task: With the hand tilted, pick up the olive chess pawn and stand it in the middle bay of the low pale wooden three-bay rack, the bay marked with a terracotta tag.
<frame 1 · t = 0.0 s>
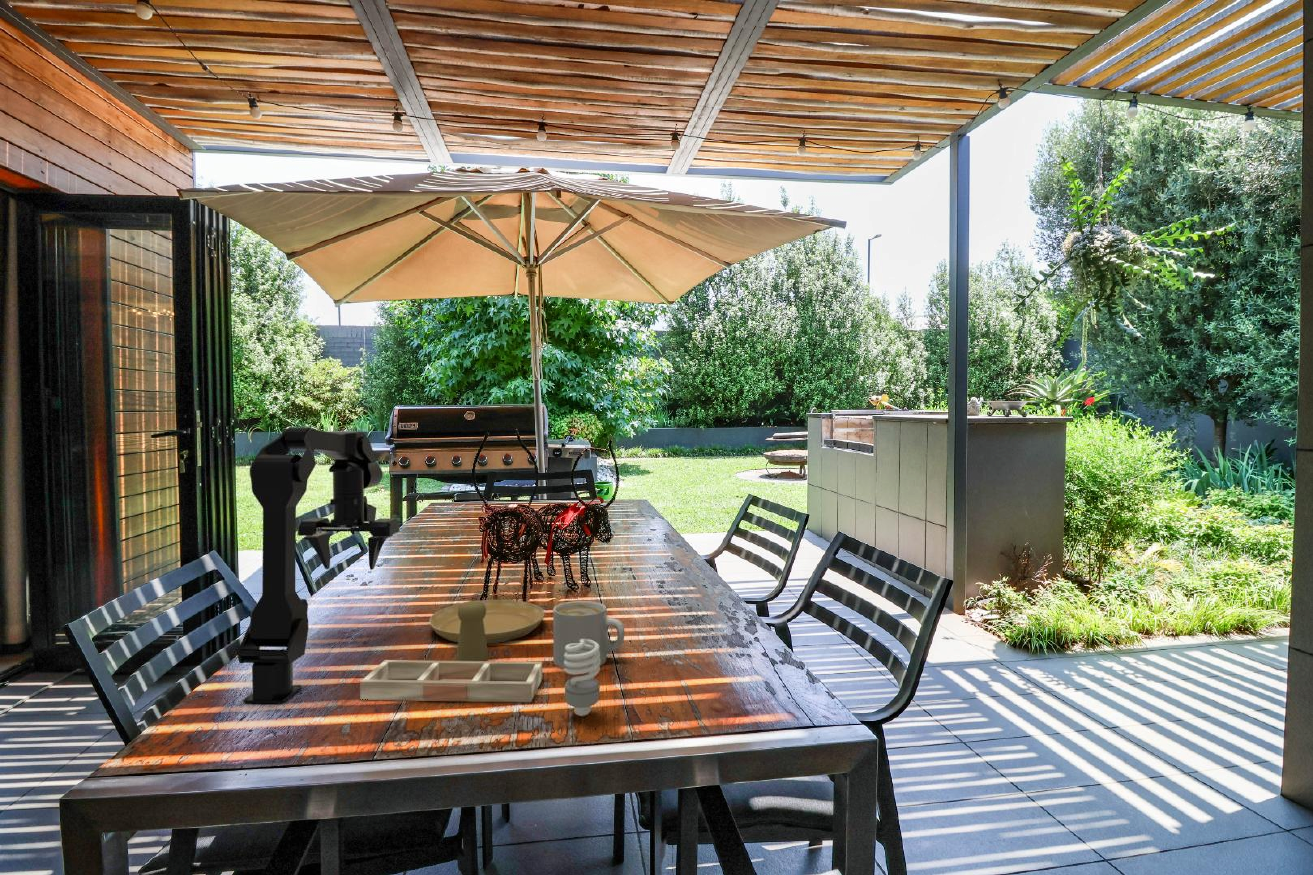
hand: (349, 568, 146), 15 cm above the table, tool pointing down, fingers open, 9 cm apart
light bulb: (582, 717, 111), on the table
rack: (454, 688, 122), on the table
plant saucer: (488, 630, 155), on the table
olive chess pawn: (472, 660, 136), on the table
coffee mug: (588, 662, 135), on the table
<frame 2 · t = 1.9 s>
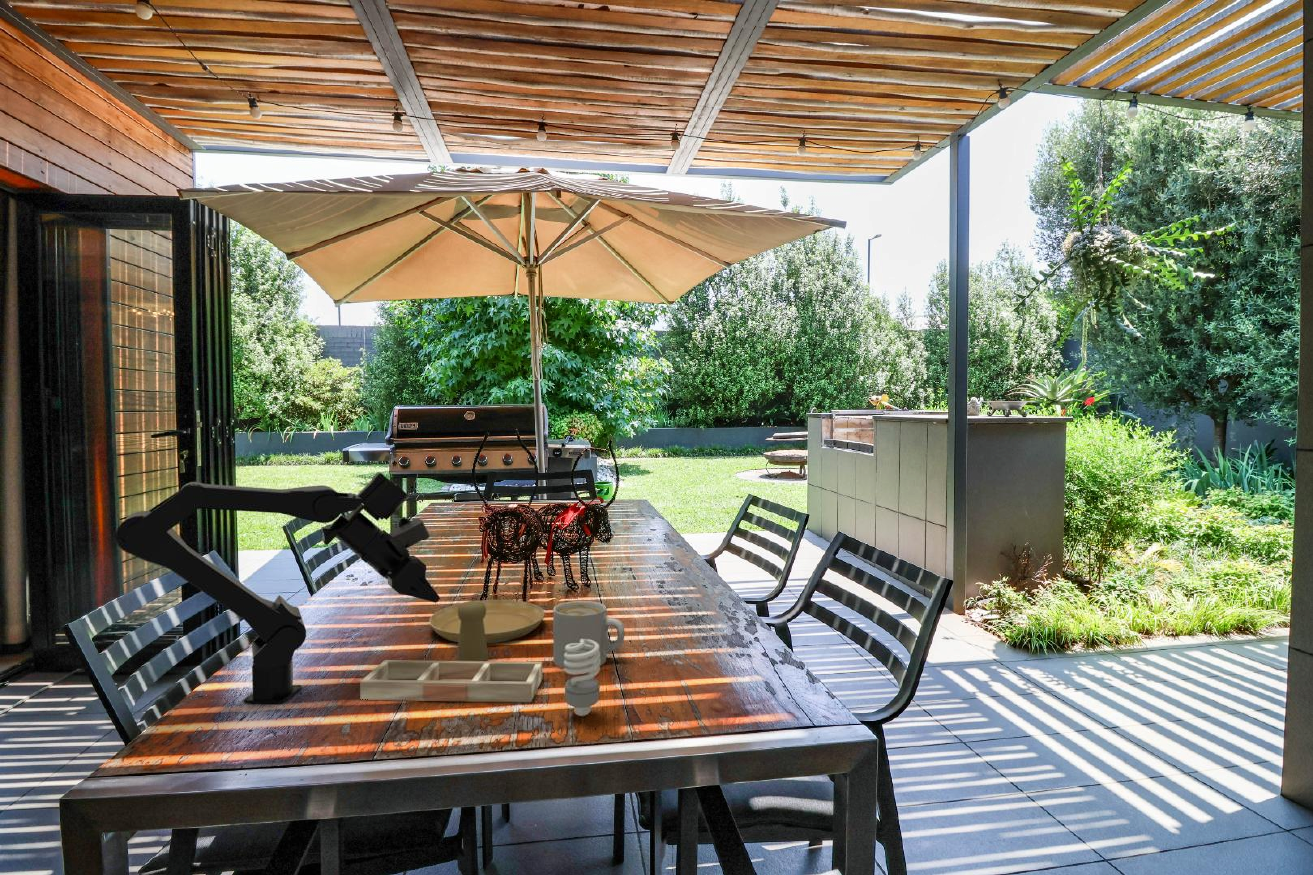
hand: (431, 594, 131), 13 cm above the table, tool tilted 45°, fingers open, 9 cm apart
nothing on the table moved.
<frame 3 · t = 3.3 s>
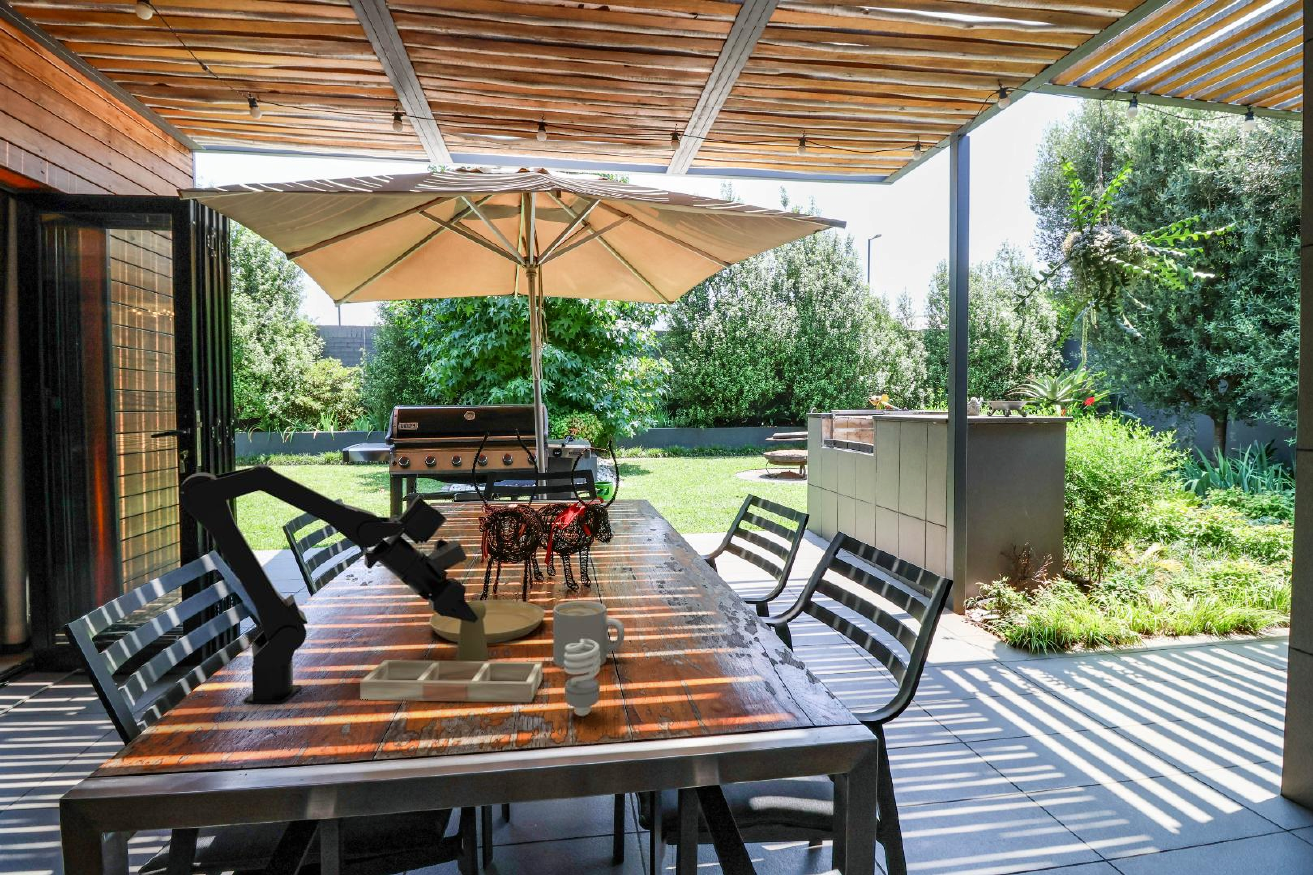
hand: (468, 614, 135), 9 cm above the table, tool tilted 45°, fingers open, 9 cm apart
nothing on the table moved.
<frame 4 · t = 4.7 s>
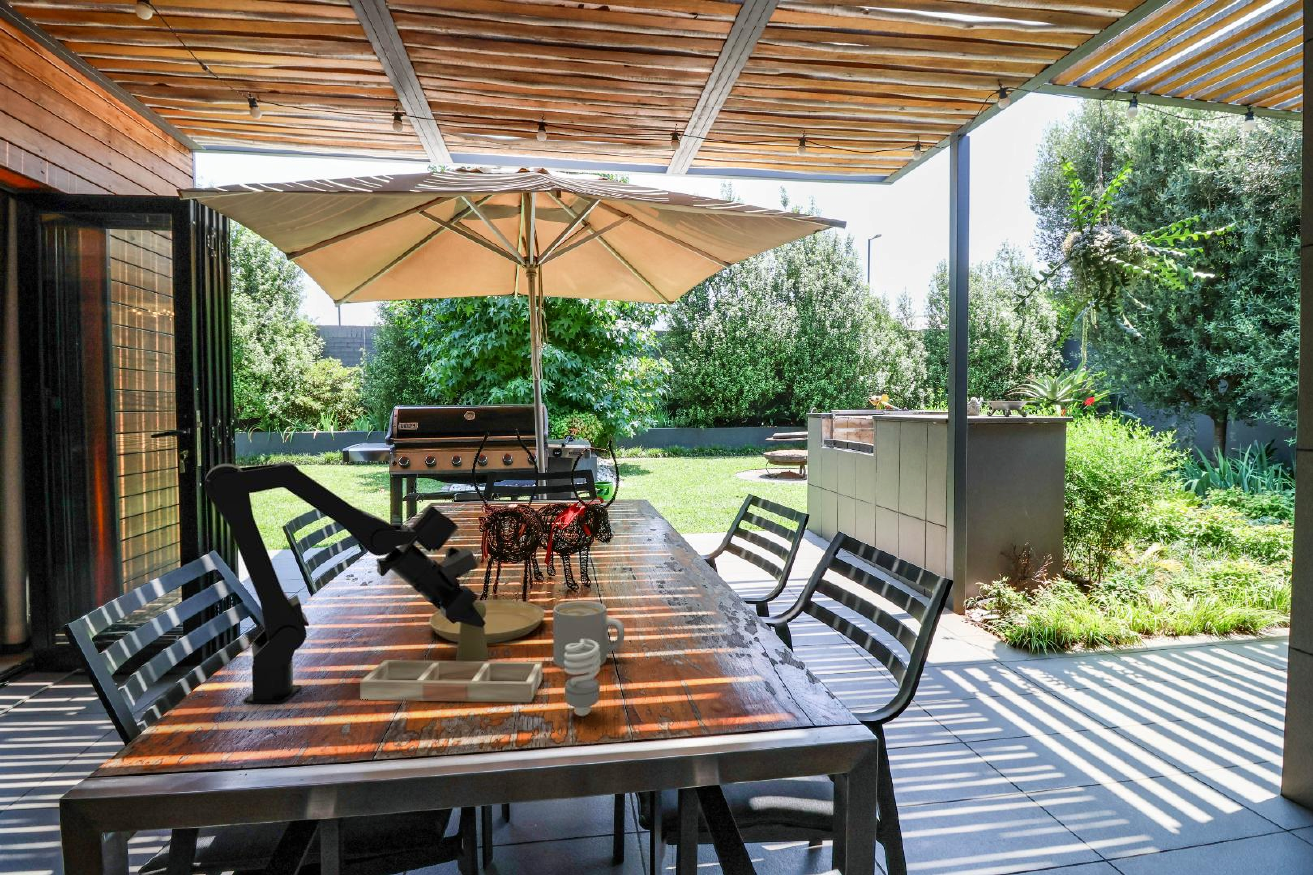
hand: (479, 621, 136), 7 cm above the table, tool tilted 45°, fingers closed on olive chess pawn, 5 cm apart
olive chess pawn: (472, 660, 136), on the table, touching gripper
everything else where it was.
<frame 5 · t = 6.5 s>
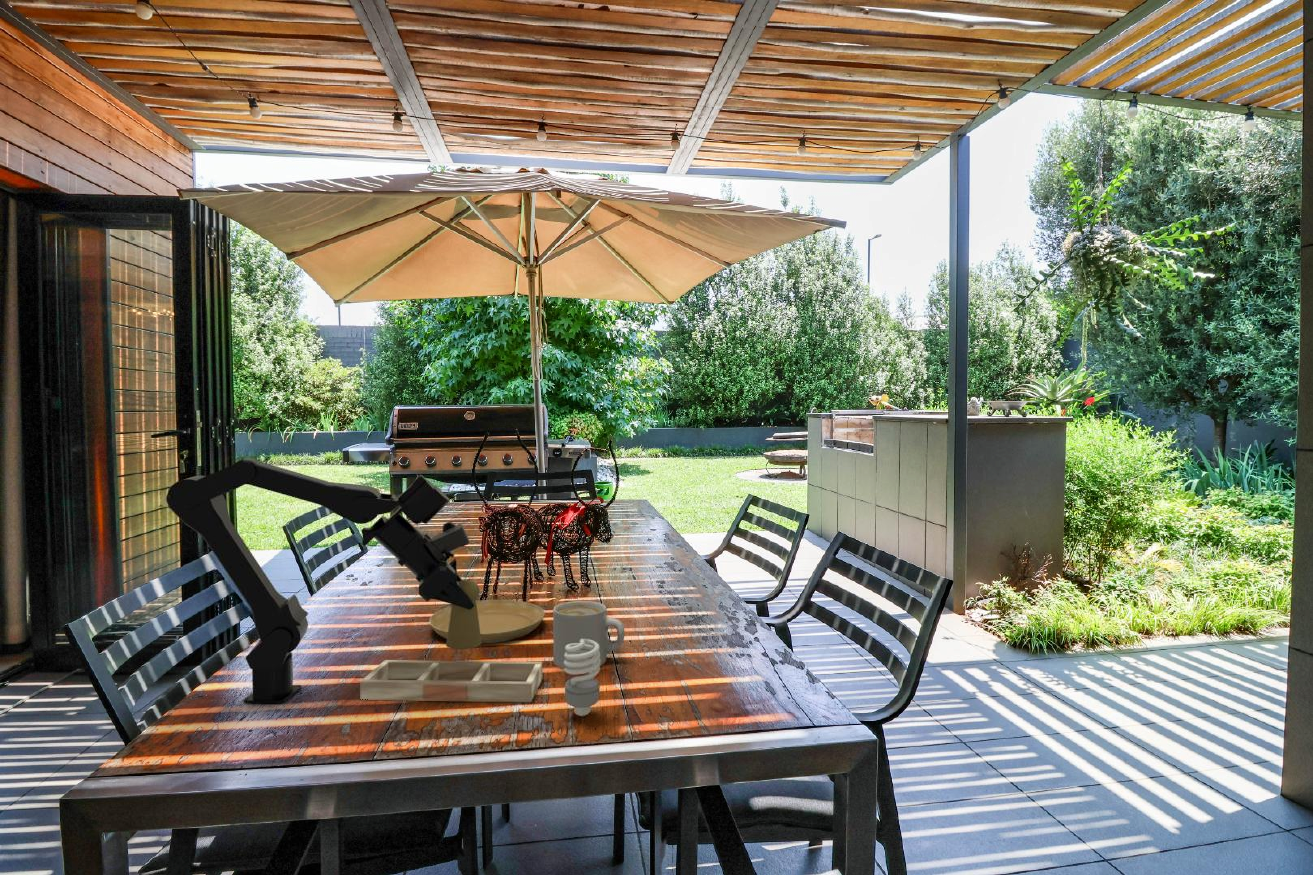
hand: (472, 603, 127), 13 cm above the table, tool tilted 45°, fingers closed on olive chess pawn, 5 cm apart
olive chess pawn: (463, 644, 127), point 6 cm above the table, touching gripper
everything else where it was.
when the fingers open (9 cm above the table, at t = 8.4 s): olive chess pawn drops 1 cm, resting on rack.
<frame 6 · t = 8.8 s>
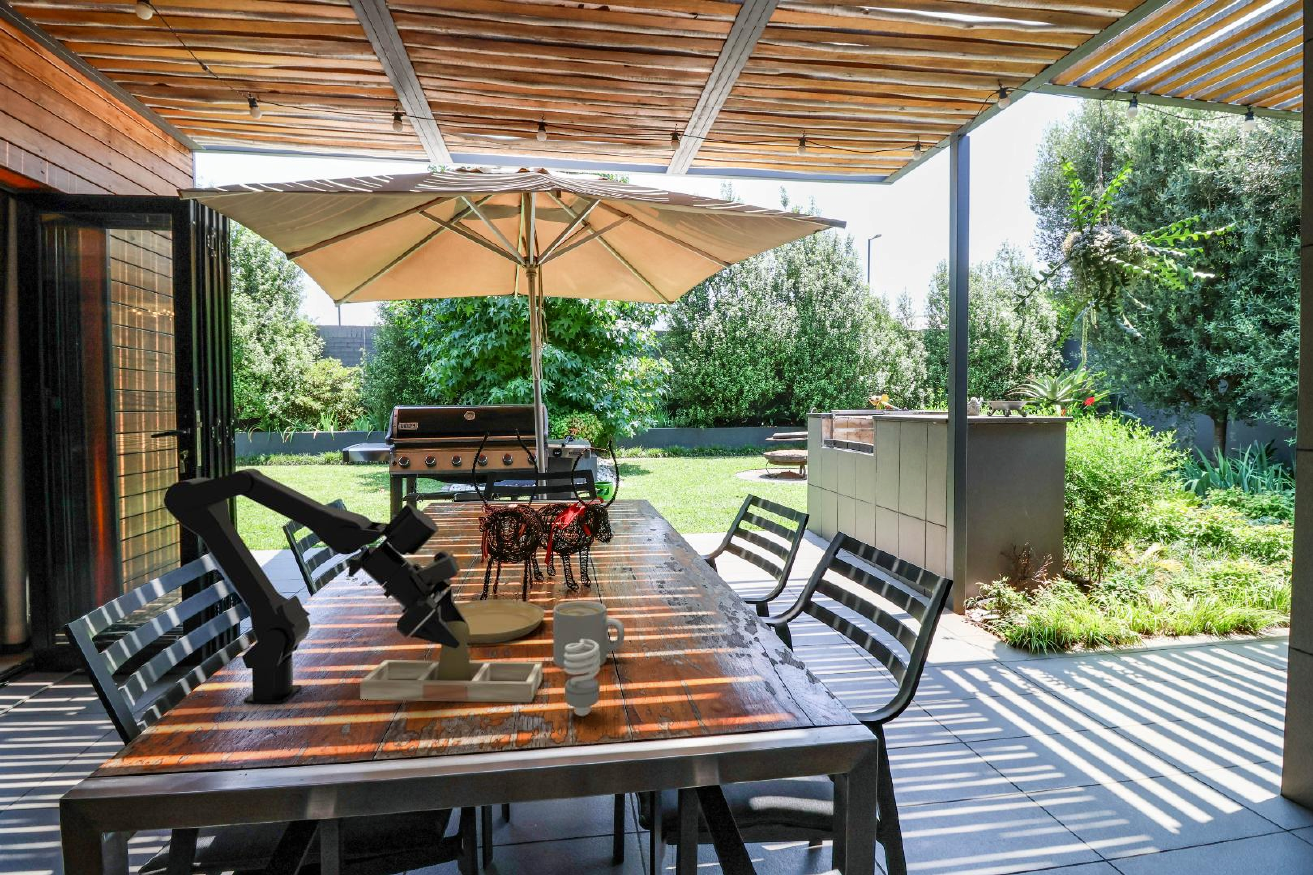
hand: (462, 637, 122), 9 cm above the table, tool tilted 45°, fingers open, 9 cm apart
olive chess pawn: (454, 687, 122), resting on rack
everything else where it was.
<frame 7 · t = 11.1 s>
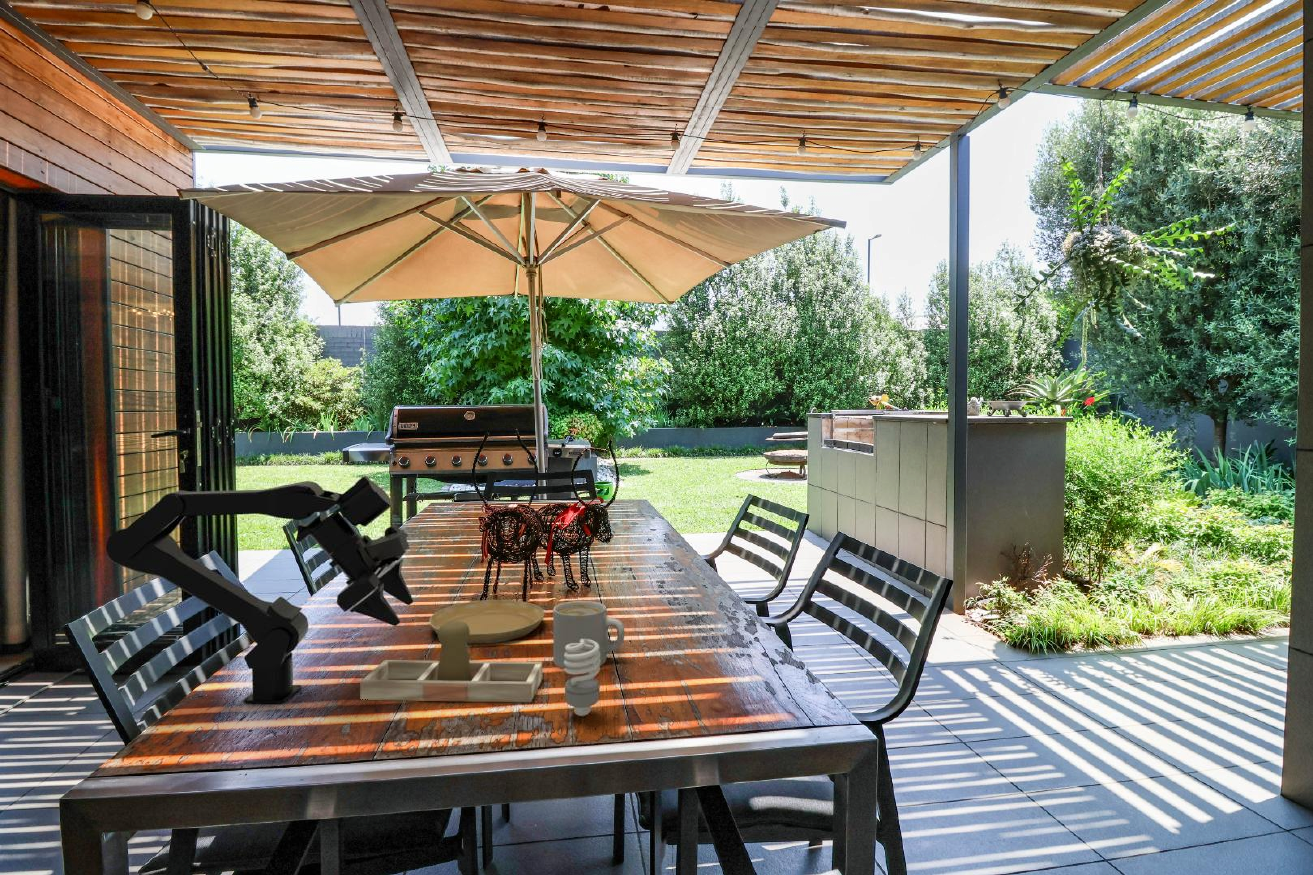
hand: (404, 613, 123), 13 cm above the table, tool tilted 40°, fingers open, 9 cm apart
nothing on the table moved.
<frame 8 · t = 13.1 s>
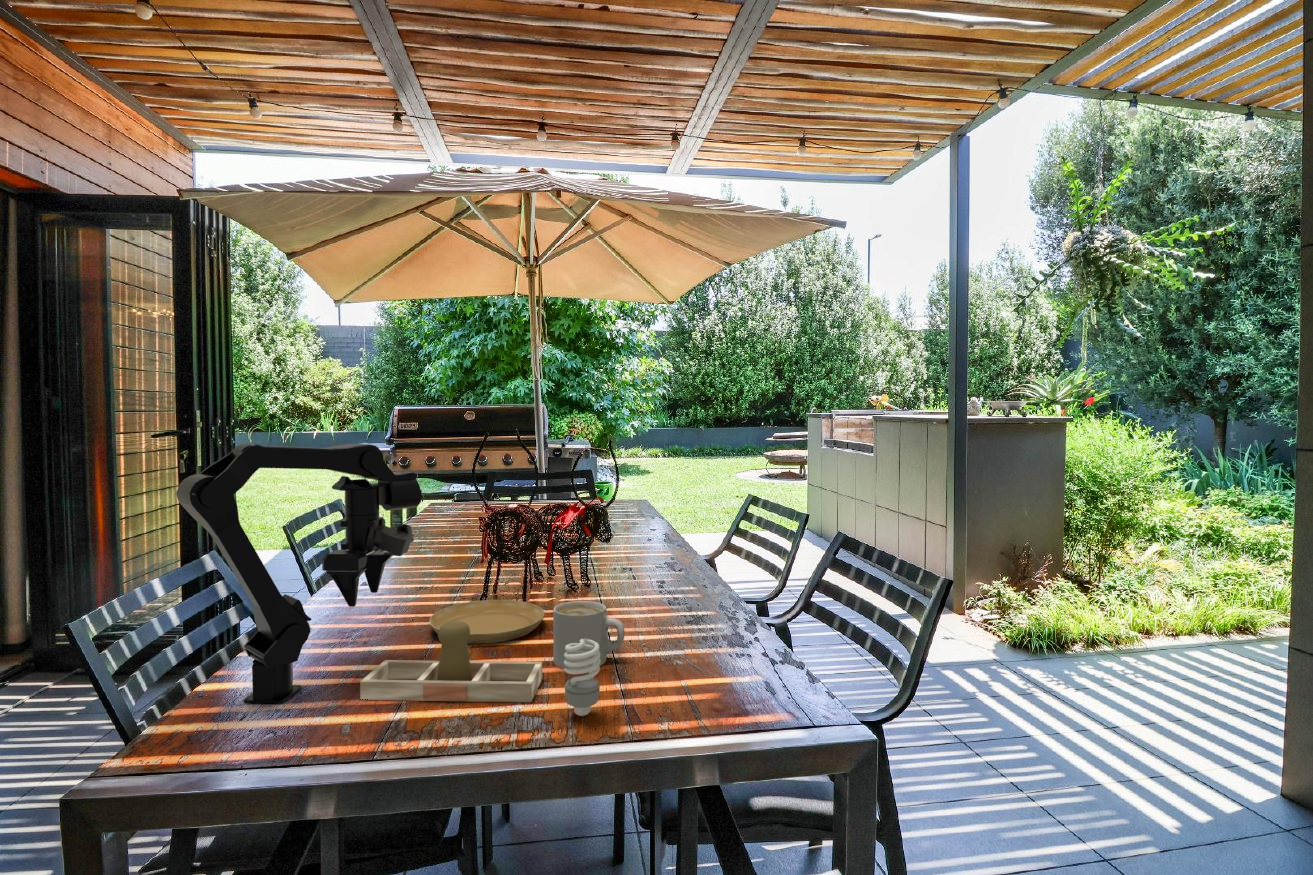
hand: (363, 599, 130), 13 cm above the table, tool pointing down, fingers open, 9 cm apart
nothing on the table moved.
at the end: olive chess pawn 0.1 cm off-centre on the rack, point 0.1 cm above the rack's base; olive chess pawn tilted 0°; the gripper is holding nothing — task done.
